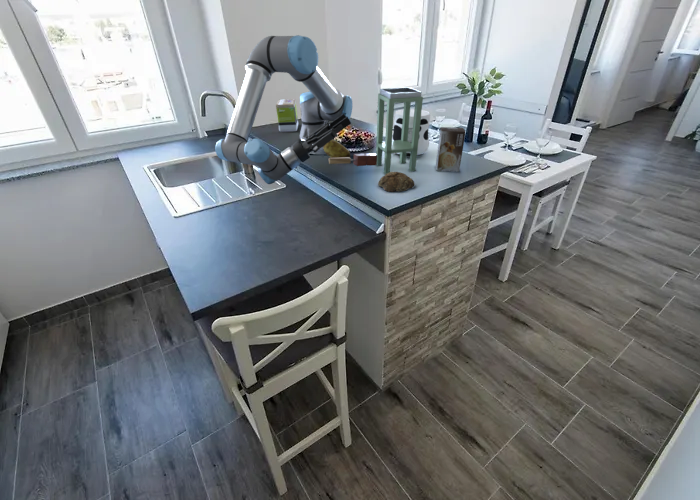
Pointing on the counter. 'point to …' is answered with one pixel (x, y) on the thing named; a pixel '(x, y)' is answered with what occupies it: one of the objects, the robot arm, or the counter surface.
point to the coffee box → (450, 149)
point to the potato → (335, 150)
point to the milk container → (423, 133)
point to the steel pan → (400, 92)
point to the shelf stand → (403, 144)
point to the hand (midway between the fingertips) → (347, 118)
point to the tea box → (287, 115)
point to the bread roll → (396, 182)
